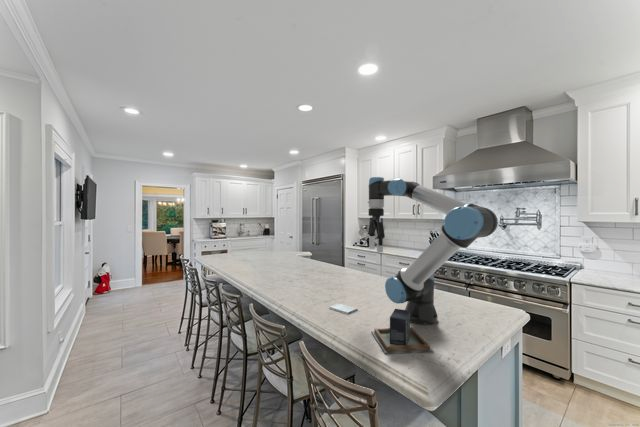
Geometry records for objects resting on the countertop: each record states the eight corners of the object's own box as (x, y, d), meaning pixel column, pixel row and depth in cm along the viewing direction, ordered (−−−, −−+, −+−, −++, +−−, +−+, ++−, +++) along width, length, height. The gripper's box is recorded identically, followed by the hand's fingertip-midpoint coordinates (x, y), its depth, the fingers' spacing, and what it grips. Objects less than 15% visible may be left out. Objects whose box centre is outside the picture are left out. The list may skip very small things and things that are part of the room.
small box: (394, 333, 115) (394, 307, 115) (410, 336, 112) (410, 310, 112) (388, 343, 106) (389, 316, 106) (406, 347, 103) (406, 319, 103)
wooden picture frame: (412, 331, 119) (412, 326, 119) (433, 352, 101) (433, 346, 101) (371, 332, 117) (371, 327, 117) (385, 354, 99) (385, 348, 99)
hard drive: (357, 308, 144) (339, 302, 152) (348, 312, 138) (329, 306, 146) (357, 311, 144) (339, 305, 152) (348, 315, 138) (329, 309, 146)
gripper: (362, 208, 152) (362, 247, 152) (376, 207, 127) (375, 254, 127) (376, 208, 152) (375, 247, 152) (392, 207, 127) (391, 254, 127)
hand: (375, 250), depth 139 cm, fingers open, 13 cm apart
